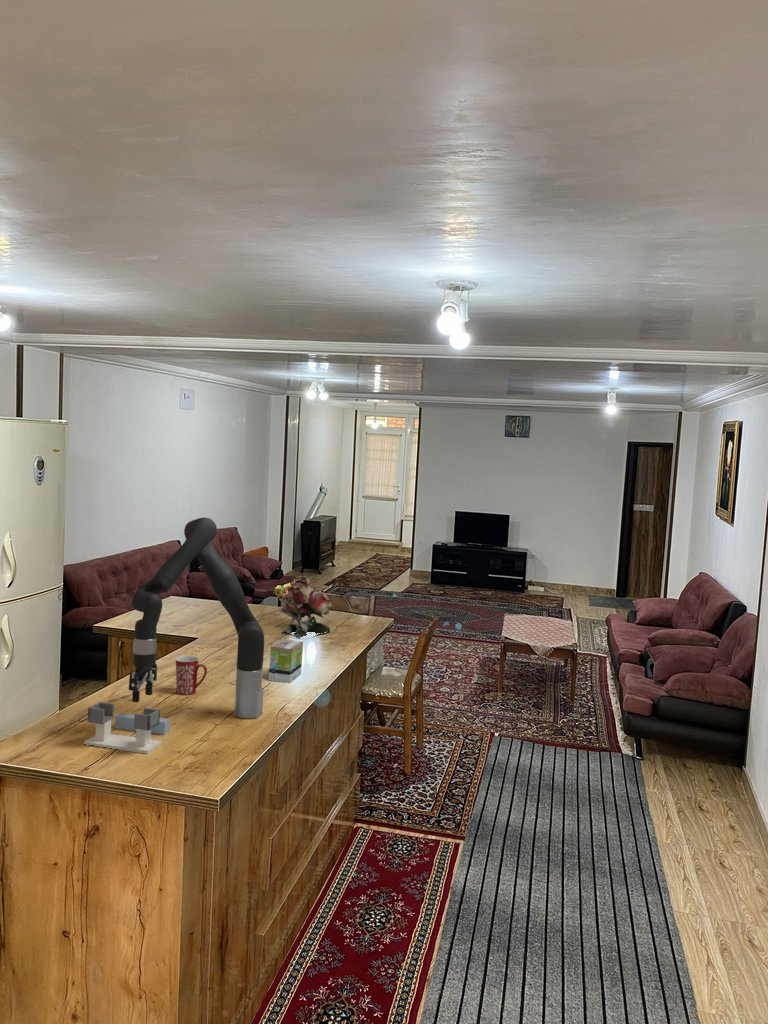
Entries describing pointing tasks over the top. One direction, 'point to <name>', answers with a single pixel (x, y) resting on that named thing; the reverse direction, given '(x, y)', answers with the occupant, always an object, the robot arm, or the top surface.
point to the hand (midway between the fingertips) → (142, 698)
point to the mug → (188, 674)
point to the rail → (127, 723)
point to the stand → (104, 738)
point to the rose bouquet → (305, 607)
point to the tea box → (285, 660)
